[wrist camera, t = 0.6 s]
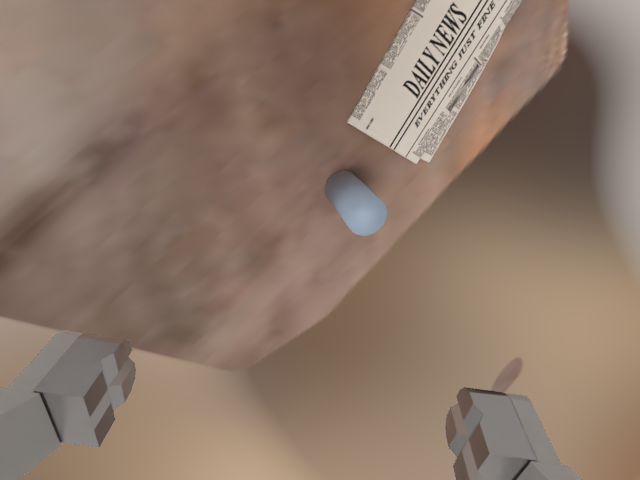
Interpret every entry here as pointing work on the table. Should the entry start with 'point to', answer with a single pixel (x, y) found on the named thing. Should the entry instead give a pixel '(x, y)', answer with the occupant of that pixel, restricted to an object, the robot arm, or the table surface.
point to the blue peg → (355, 203)
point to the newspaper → (430, 73)
